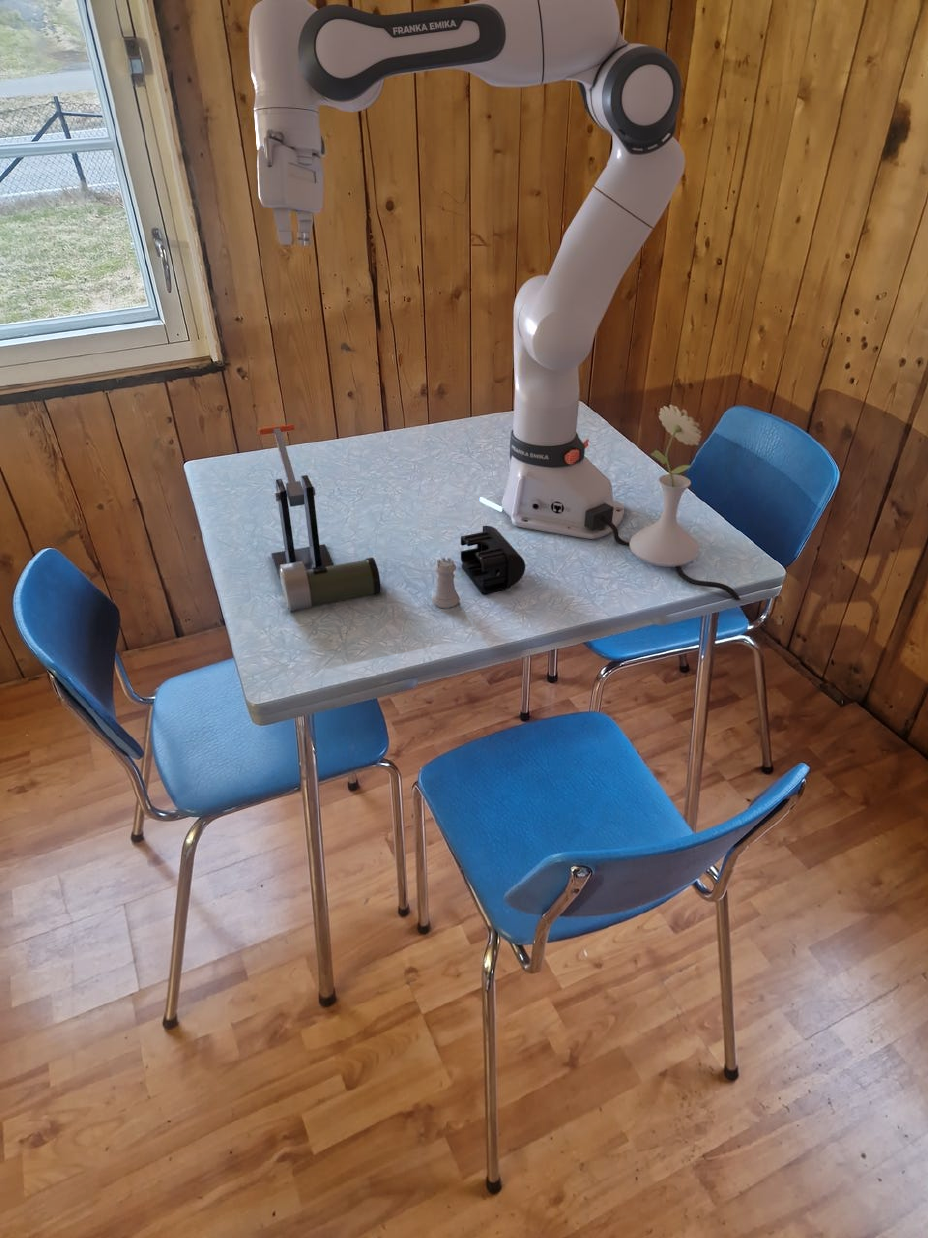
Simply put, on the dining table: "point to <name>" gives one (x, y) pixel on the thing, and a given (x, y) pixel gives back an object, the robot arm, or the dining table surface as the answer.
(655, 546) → the flower in vase
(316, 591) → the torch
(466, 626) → the dining table surface
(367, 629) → the dining table surface
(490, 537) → the end cap
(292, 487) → the switch lever
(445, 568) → the rook chess piece
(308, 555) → the black lever stand
